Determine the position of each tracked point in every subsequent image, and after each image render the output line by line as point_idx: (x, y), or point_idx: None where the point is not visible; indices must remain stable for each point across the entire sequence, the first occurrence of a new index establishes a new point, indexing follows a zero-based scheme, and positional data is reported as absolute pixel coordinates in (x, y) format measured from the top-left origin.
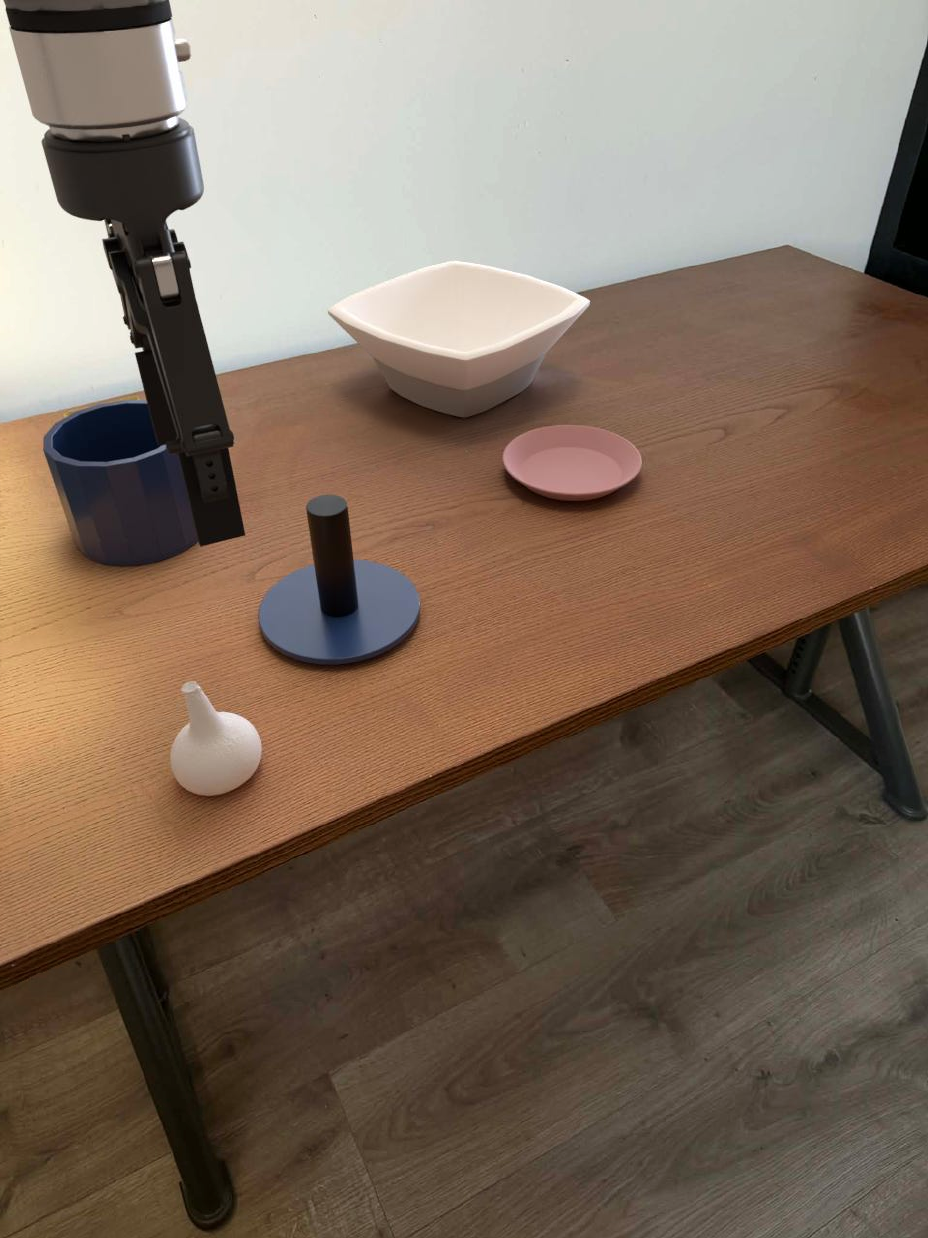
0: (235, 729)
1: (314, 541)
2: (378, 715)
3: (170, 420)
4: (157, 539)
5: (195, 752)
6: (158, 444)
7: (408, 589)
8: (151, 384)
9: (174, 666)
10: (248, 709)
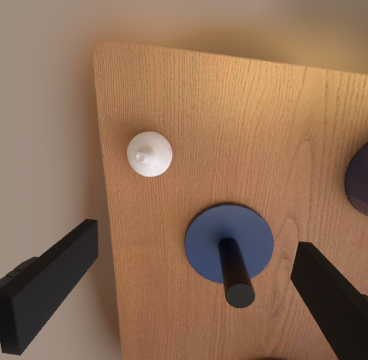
0: (141, 168)
1: (233, 268)
2: (151, 227)
3: (308, 275)
4: (356, 181)
5: (136, 145)
6: (299, 242)
7: (220, 280)
8: (344, 306)
9: (238, 154)
10: (185, 177)
